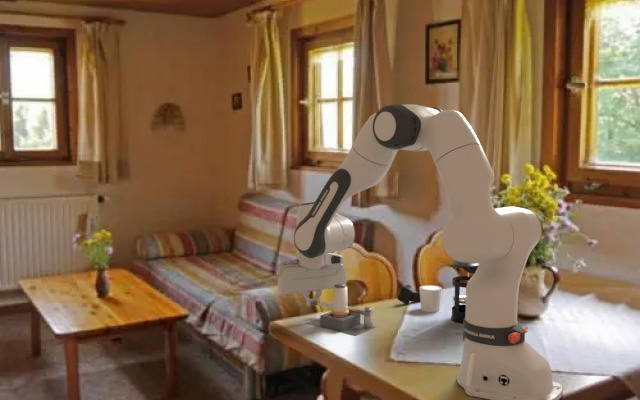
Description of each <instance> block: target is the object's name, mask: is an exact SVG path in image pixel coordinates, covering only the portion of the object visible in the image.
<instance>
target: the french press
mask: <svg viewBox="0 0 640 400" xmlns="http://www.w3.org/2000/svg"><path fill="white" fill-rule="evenodd" d="M452 265H453V270H456V269H460V268H461V269H463V270H464V272H466V273H467V275H460V276H459V275H458V276H454V277H453V278H452V279H451V281H452V283H451V284H452V285H453V286H454V296H453V297H452V298H453V301H454V306H452V307H451V316H450V320H451V321H452V322H454V323H457V324H461V325H463V321H464V318H465V313H466V294H460V293H461V288H465V289H466V286H467V283H468V281H469V280H470V279H471V277H472V276H473V274H475V272H476V270H477V268H478V266H479V263H467V262H459V261H456V260H454V261H453V262H452ZM470 274H472V276H471V275H470ZM462 281H464V282H462ZM465 281H467V282H465Z"/></svg>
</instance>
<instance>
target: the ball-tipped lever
mask: <svg viewBox="0 0 640 400" xmlns="http://www.w3.org/2000/svg"><path fill="white" fill-rule="evenodd" d="M319 306H321V307H326V308H331V309H333V302H332V301H327V300H320V301H319ZM348 309H349V312H352V313H357V314H360V316H361V315H362V316H364V315H366V316H372V315H373V307H369V306H368V307H364V309H363V308H359V307H354V306H349V305H348Z"/></svg>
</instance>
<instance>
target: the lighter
mask: <svg viewBox="0 0 640 400" xmlns="http://www.w3.org/2000/svg"><path fill="white" fill-rule="evenodd" d="M411 288H412V285H410V284H405V286H403V287H401V289H400V291H399V294H398V296H397V298H396V299H397V300H398V301H399V302H401V303H403V304H404V305H409V303H410V302H412V303H416V304H417V303H421V302H420V292H415V291H414V292H413V290H412V289H411Z"/></svg>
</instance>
